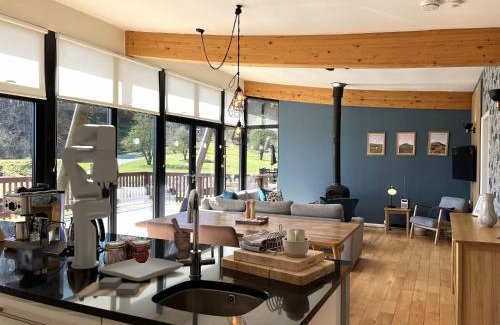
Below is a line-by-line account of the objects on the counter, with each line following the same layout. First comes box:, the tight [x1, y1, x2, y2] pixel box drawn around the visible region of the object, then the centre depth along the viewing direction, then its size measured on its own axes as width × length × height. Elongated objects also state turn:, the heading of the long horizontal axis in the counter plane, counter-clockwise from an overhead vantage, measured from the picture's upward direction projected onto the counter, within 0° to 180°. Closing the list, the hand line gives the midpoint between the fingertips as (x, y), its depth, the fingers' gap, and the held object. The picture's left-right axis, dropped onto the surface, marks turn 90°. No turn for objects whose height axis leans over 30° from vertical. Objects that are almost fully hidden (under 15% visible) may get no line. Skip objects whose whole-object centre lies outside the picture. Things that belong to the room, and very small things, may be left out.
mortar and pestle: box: [170, 217, 192, 260], centre depth 216 cm, size 12×9×20 cm
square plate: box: [97, 256, 185, 282], centre depth 186 cm, size 27×27×4 cm
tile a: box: [98, 277, 123, 288], centre depth 167 cm, size 2×6×7 cm
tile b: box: [116, 284, 140, 295], centre depth 159 cm, size 2×6×7 cm
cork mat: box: [74, 281, 152, 298], centre depth 163 cm, size 24×16×1 cm, turn 86°
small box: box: [15, 244, 44, 272], centre depth 195 cm, size 11×6×10 cm, turn 68°
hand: (105, 197), depth 176 cm, fingers closed
